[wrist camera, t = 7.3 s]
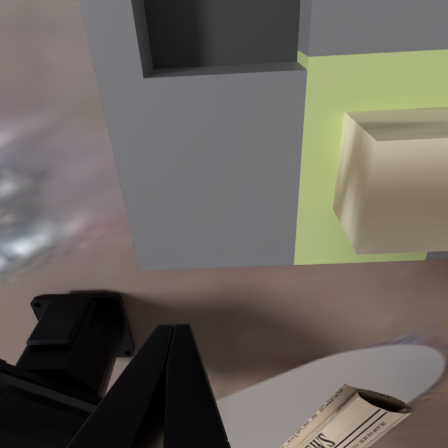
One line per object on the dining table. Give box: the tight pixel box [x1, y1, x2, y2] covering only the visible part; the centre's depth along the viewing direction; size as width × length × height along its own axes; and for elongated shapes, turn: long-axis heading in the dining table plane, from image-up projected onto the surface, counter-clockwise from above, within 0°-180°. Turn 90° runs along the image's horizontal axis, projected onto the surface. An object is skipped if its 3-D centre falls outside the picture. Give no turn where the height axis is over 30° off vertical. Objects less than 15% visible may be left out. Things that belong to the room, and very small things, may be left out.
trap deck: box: [79, 0, 448, 271], centre depth 16 cm, size 20×24×3 cm
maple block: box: [333, 107, 448, 255], centre depth 16 cm, size 5×5×4 cm
